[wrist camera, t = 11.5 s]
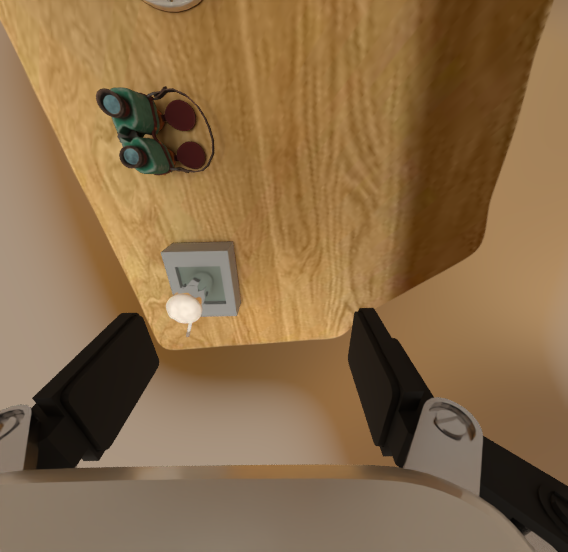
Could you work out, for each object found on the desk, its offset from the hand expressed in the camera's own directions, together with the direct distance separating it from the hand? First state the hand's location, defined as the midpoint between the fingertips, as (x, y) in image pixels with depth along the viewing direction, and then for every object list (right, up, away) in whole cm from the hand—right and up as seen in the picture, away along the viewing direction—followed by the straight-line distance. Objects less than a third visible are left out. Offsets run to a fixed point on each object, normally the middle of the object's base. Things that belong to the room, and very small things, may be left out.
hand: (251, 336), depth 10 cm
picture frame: (-12, +3, +30) cm, 33 cm away
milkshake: (-12, +2, +27) cm, 30 cm away
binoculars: (-12, +22, +21) cm, 33 cm away
